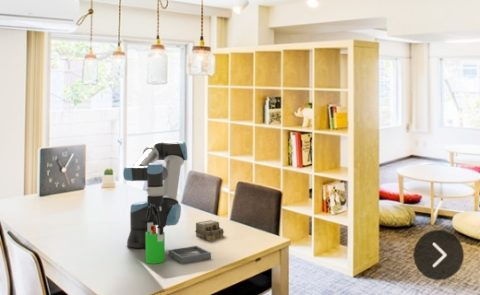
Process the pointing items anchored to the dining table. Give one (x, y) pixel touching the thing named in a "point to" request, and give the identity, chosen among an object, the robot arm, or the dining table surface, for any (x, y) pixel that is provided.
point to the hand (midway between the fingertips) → (155, 238)
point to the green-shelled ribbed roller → (154, 247)
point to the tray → (189, 254)
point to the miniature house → (208, 230)
